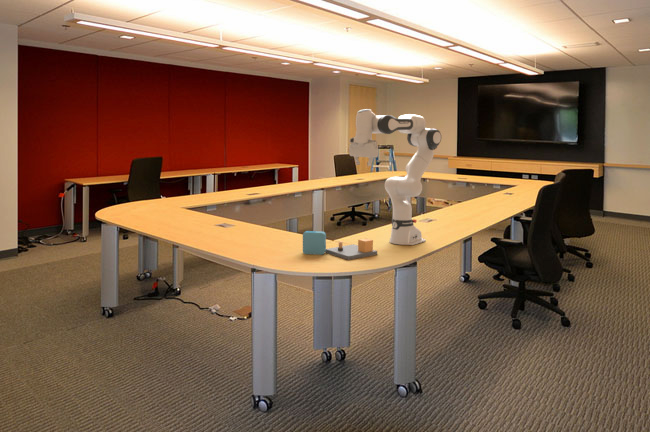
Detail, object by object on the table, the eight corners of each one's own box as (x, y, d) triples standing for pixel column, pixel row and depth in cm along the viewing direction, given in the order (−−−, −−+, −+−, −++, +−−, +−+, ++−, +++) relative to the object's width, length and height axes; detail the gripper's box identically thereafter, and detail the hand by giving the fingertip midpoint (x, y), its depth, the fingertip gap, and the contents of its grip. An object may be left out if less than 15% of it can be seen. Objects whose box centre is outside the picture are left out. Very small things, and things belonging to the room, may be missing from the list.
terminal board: (353, 247, 293) (353, 236, 292) (377, 254, 277) (377, 242, 276) (325, 252, 281) (325, 241, 280) (348, 260, 265) (348, 247, 264)
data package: (325, 253, 281) (325, 231, 278) (324, 255, 276) (324, 233, 274) (304, 252, 283) (304, 230, 281) (302, 254, 278) (302, 232, 276)
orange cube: (365, 249, 281) (366, 238, 280) (372, 251, 276) (372, 240, 275) (358, 250, 278) (358, 239, 277) (364, 252, 273) (365, 241, 272)
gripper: (381, 139, 272) (380, 166, 275) (355, 139, 288) (355, 164, 291) (372, 140, 268) (372, 166, 271) (347, 139, 284) (347, 164, 287)
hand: (363, 165), depth 281 cm, fingers open, 8 cm apart
